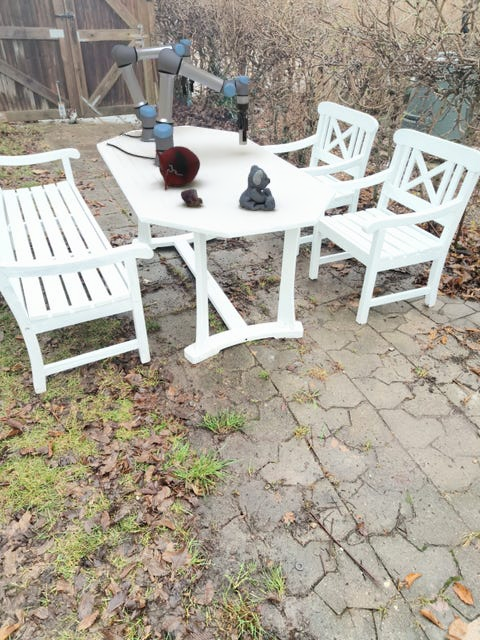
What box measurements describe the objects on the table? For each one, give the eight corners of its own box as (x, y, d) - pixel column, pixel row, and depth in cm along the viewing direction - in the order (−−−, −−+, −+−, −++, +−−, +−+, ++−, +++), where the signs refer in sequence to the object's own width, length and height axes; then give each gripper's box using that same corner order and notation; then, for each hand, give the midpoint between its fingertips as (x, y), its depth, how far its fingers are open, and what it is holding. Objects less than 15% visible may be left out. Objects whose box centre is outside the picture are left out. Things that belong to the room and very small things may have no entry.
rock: (196, 202, 238) (178, 205, 233) (194, 185, 234) (176, 188, 230) (205, 205, 228) (187, 208, 224) (203, 188, 224) (185, 191, 220)
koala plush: (276, 211, 223) (277, 171, 212) (240, 212, 222) (240, 172, 211) (271, 199, 237) (272, 161, 226) (237, 200, 236) (237, 162, 225)
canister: (240, 145, 304) (240, 131, 299) (238, 143, 308) (238, 129, 303) (247, 144, 305) (247, 130, 300) (245, 142, 309) (245, 129, 304)
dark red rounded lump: (157, 151, 264) (151, 150, 240) (196, 143, 263) (194, 140, 240) (167, 188, 271) (161, 190, 247) (205, 180, 270) (203, 181, 246)
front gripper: (253, 104, 286) (253, 142, 299) (242, 100, 300) (243, 137, 313) (242, 105, 284) (242, 144, 297) (232, 101, 298) (233, 138, 311)
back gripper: (183, 64, 335) (185, 96, 347) (197, 61, 354) (199, 91, 366) (174, 64, 337) (177, 95, 349) (189, 61, 356) (191, 91, 368)
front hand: (242, 140), depth 305 cm, fingers closed on canister, 5 cm apart
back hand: (188, 93), depth 357 cm, fingers open, 13 cm apart
